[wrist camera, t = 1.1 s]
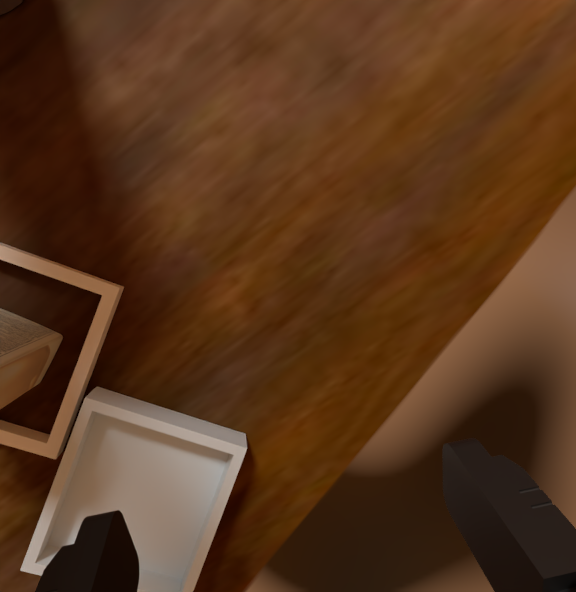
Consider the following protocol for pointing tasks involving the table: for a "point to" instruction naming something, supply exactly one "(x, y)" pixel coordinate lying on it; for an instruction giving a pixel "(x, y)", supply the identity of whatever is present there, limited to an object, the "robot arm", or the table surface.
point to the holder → (110, 298)
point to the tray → (142, 486)
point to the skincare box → (23, 355)
